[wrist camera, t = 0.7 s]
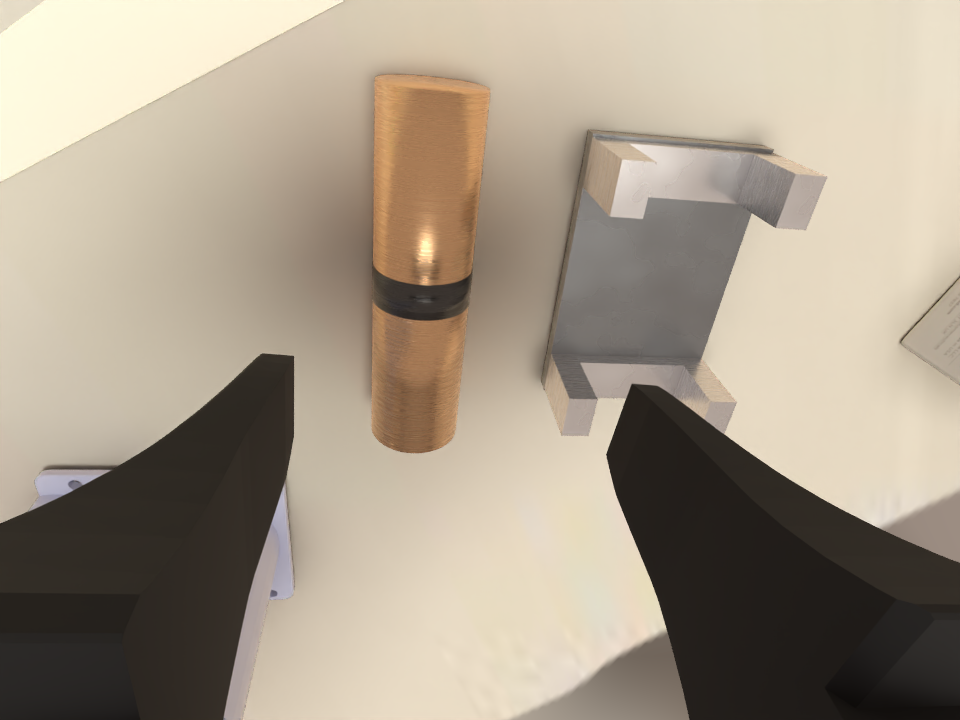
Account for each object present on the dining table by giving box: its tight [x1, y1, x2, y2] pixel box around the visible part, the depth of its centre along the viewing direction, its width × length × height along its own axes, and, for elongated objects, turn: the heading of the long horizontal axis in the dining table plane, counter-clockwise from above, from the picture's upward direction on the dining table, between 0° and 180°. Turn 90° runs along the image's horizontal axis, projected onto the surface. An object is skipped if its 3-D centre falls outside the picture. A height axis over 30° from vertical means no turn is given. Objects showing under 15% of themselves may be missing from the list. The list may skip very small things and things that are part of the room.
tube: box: [372, 75, 490, 453], centre depth 20 cm, size 12×3×3 cm, turn 174°
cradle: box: [541, 130, 827, 436], centre depth 21 cm, size 6×10×4 cm, turn 174°
